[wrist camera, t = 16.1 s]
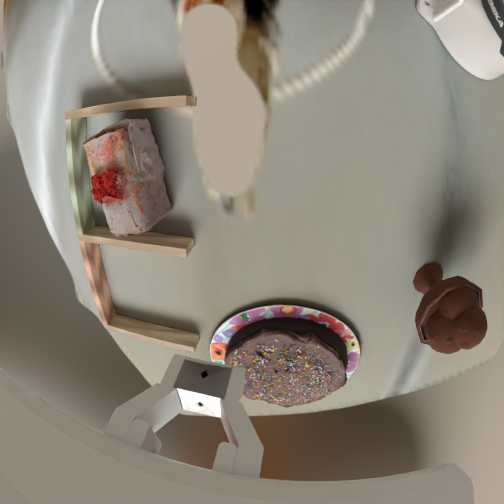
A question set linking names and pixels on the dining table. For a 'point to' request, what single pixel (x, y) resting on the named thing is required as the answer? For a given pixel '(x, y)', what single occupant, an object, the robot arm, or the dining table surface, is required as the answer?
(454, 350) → the ice cream bowl
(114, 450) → the robot arm
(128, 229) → the food item
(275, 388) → the chocolate cake
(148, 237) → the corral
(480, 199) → the dining table surface
